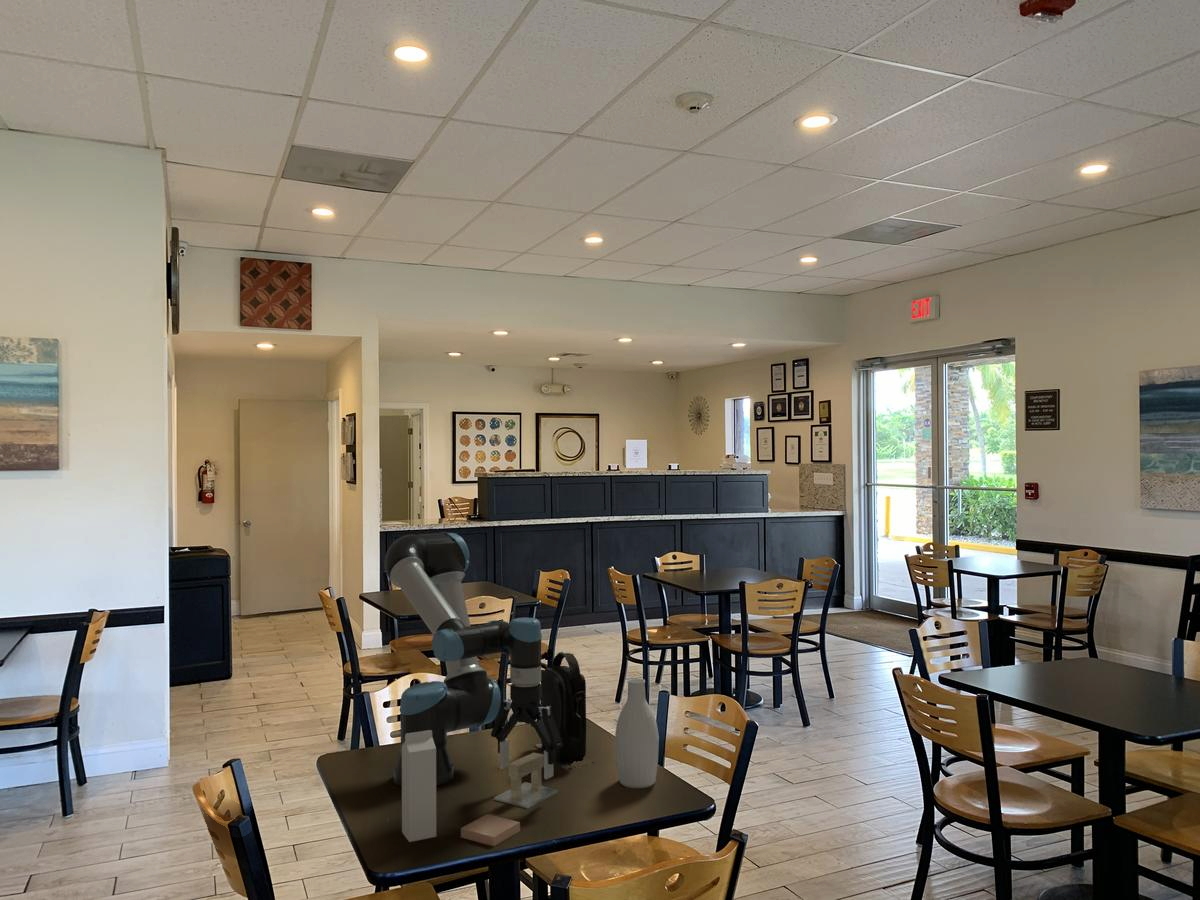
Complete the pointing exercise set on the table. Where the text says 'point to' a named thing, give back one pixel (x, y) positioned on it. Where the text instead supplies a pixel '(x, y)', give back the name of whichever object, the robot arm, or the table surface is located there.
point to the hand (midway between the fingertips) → (526, 772)
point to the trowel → (526, 792)
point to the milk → (419, 786)
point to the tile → (490, 829)
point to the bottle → (636, 739)
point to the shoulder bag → (566, 707)
